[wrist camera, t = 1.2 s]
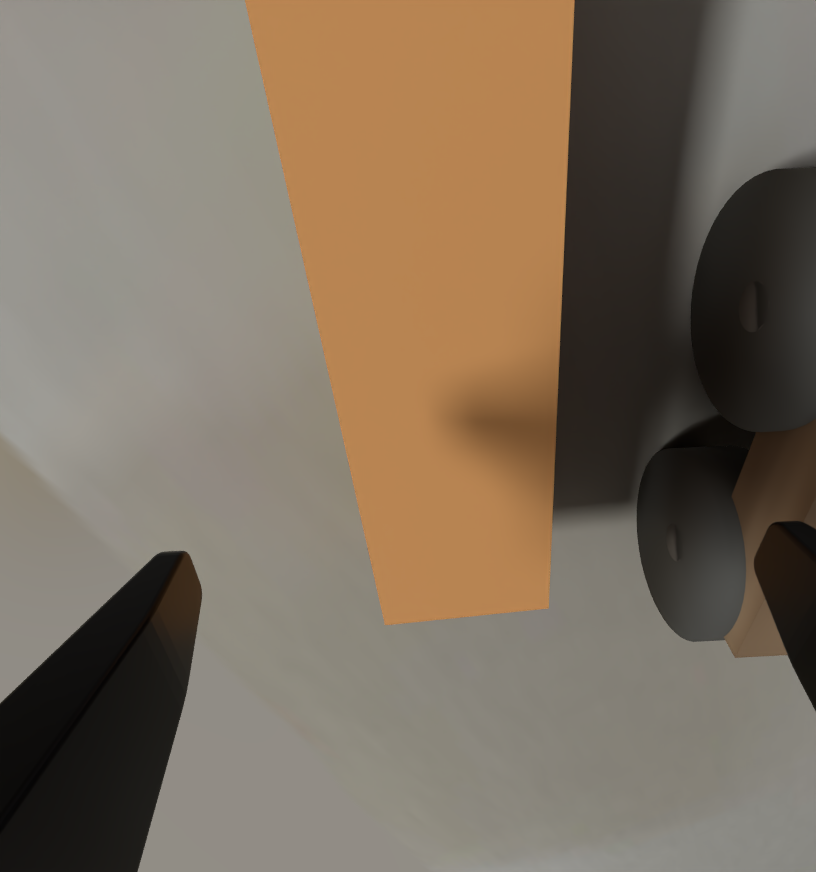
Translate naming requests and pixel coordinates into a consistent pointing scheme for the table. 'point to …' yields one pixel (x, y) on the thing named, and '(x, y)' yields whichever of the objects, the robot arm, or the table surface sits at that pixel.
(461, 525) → the chock
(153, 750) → the robot arm
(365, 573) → the table surface
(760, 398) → the trolley
